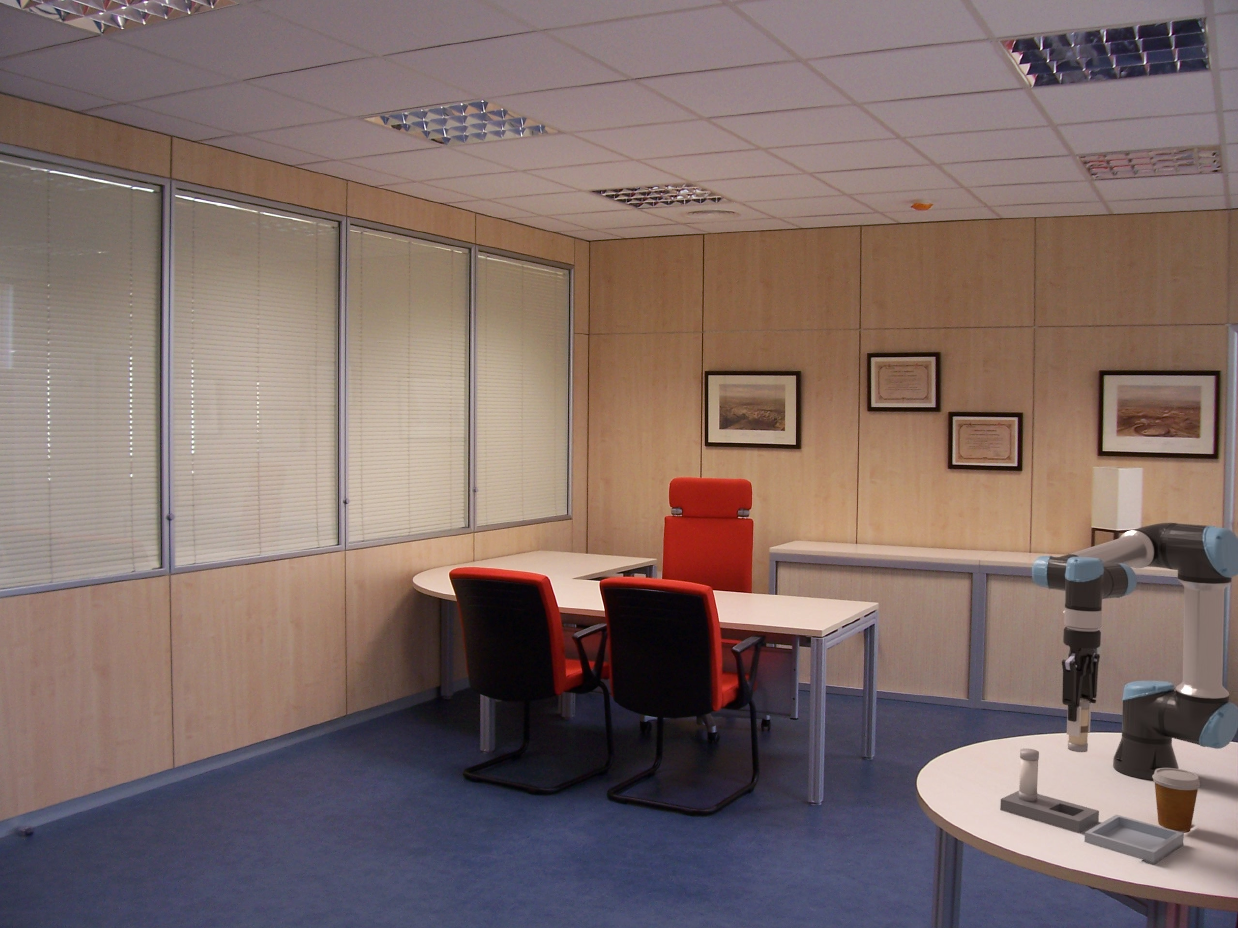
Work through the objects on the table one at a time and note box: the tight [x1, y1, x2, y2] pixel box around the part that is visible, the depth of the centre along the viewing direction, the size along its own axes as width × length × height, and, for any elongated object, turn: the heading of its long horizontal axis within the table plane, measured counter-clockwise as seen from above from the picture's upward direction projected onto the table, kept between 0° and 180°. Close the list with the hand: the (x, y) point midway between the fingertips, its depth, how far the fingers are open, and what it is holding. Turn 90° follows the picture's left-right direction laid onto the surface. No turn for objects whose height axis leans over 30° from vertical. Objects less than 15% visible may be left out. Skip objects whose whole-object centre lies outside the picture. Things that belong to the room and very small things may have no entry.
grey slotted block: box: [999, 748, 1100, 834], centre depth 243 cm, size 10×18×14 cm, turn 43°
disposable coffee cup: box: [1152, 768, 1201, 833], centre depth 238 cm, size 10×10×12 cm
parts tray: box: [1084, 814, 1184, 866], centre depth 228 cm, size 16×14×2 cm
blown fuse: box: [1067, 698, 1089, 753], centre depth 237 cm, size 4×4×11 cm
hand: (1078, 733), depth 237 cm, fingers closed on blown fuse, 4 cm apart
